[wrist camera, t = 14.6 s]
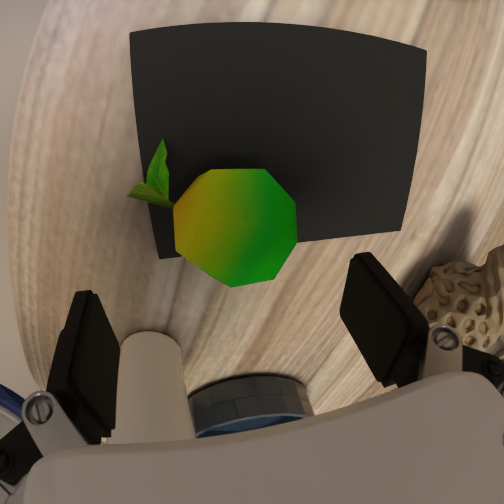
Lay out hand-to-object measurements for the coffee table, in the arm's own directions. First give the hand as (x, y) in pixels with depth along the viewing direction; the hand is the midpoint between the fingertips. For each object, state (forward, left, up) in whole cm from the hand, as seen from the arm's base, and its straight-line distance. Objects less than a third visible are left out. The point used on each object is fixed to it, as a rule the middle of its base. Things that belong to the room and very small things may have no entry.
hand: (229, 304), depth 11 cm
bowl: (+1, -27, -9) cm, 28 cm away
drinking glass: (-6, -13, -10) cm, 17 cm away
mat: (+5, +3, -9) cm, 11 cm away
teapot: (+21, -13, -10) cm, 27 cm away
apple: (0, 0, -9) cm, 9 cm away
